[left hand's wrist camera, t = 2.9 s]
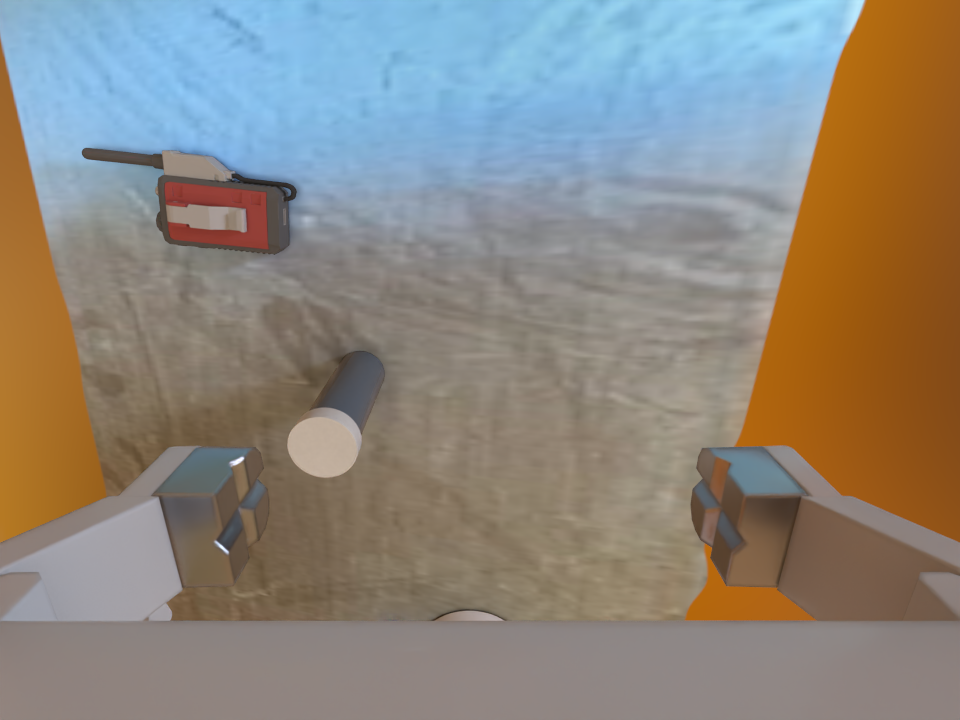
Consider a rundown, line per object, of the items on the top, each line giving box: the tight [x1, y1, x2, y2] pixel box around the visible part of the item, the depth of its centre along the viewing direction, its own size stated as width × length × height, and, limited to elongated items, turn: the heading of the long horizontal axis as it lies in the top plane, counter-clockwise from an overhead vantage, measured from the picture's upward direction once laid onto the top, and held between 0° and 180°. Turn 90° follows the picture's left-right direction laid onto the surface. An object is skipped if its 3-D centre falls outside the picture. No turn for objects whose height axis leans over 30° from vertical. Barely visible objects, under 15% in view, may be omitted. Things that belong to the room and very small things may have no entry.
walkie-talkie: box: [82, 148, 297, 255], centre depth 52 cm, size 9×4×20 cm
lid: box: [287, 408, 361, 477], centre depth 47 cm, size 6×6×2 cm
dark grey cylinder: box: [309, 351, 385, 435], centre depth 54 cm, size 5×5×16 cm
